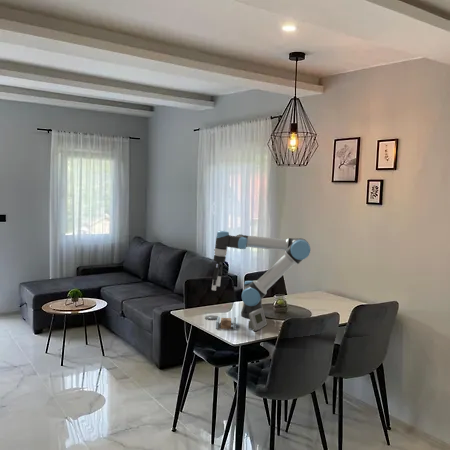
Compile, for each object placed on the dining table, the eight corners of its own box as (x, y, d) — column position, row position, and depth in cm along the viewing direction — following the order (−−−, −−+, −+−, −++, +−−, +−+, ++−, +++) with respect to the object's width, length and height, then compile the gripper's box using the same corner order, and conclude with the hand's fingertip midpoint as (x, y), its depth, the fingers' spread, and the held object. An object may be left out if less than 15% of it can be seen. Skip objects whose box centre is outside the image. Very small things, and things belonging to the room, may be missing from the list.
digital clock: (255, 332, 266) (255, 314, 266) (242, 329, 272) (243, 311, 272) (271, 326, 279) (271, 309, 278) (259, 323, 285) (259, 306, 284)
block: (231, 326, 278) (231, 318, 278) (230, 329, 272) (230, 320, 272) (221, 325, 278) (221, 317, 278) (220, 328, 272) (220, 320, 272)
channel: (235, 323, 283) (236, 317, 283) (235, 329, 271) (235, 322, 271) (217, 323, 284) (217, 316, 283) (216, 328, 272) (216, 322, 271)
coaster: (219, 316, 299) (219, 315, 299) (218, 320, 290) (218, 319, 290) (205, 316, 299) (205, 315, 299) (204, 319, 291) (204, 318, 290)
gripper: (217, 252, 303) (213, 283, 305) (210, 256, 279) (206, 291, 280) (229, 253, 302) (224, 285, 304) (222, 258, 277) (217, 293, 279)
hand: (215, 288), depth 292 cm, fingers open, 13 cm apart
